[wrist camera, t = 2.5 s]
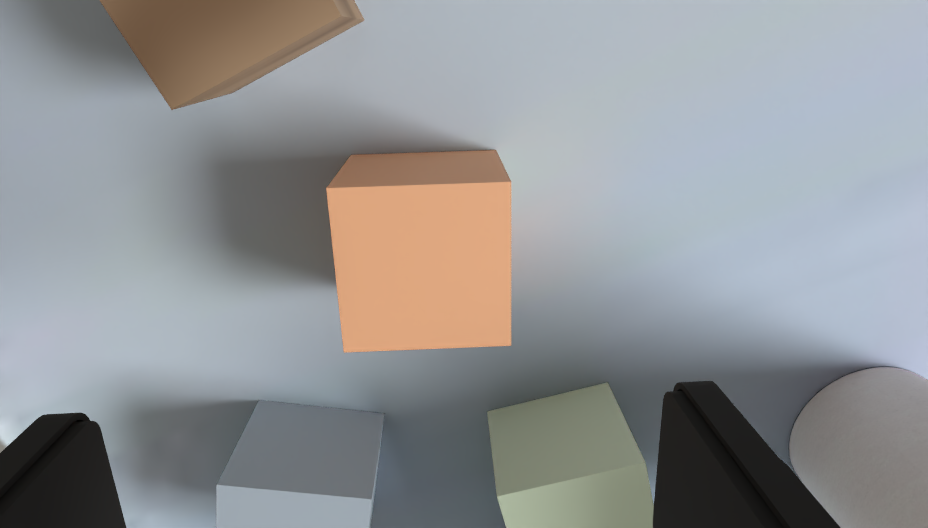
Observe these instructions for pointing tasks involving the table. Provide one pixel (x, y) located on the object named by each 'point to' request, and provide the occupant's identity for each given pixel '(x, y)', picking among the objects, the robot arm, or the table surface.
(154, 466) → the table surface
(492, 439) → the sage block
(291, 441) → the slate block
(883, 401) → the coffee cup
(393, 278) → the terracotta block
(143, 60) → the walnut block
